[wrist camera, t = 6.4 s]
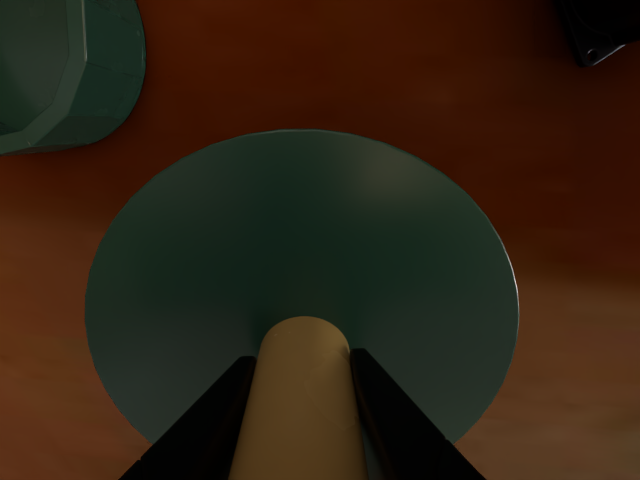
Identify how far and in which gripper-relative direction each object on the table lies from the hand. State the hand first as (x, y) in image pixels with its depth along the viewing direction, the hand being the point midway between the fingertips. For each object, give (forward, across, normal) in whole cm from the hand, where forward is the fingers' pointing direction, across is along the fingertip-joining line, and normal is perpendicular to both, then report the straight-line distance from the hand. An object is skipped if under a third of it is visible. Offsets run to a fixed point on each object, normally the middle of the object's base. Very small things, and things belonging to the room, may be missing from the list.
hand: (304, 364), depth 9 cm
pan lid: (+1, 0, 0) cm, 1 cm away
